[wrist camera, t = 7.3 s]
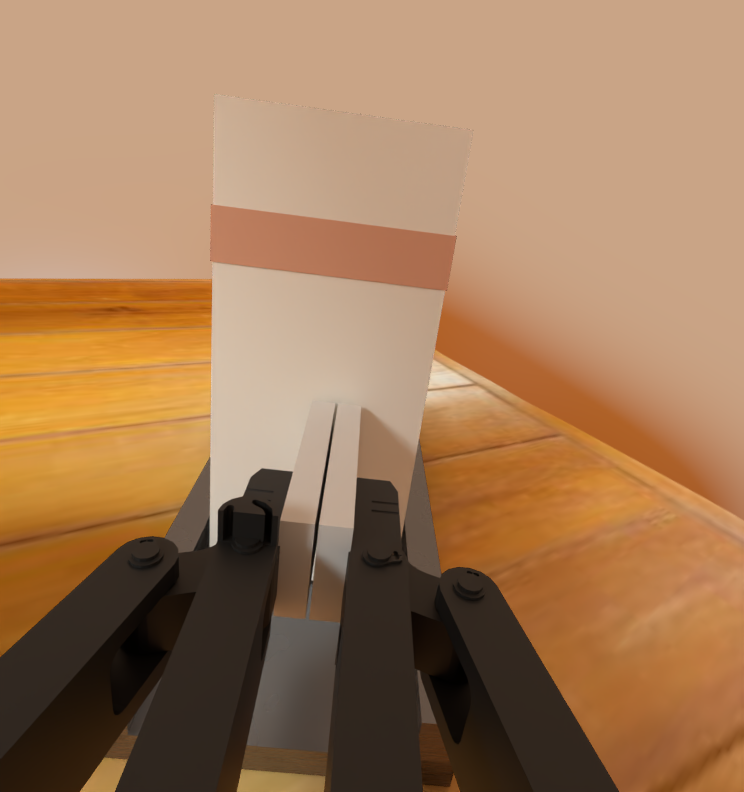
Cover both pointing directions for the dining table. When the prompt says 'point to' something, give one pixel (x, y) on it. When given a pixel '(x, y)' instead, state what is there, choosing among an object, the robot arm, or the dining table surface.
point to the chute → (307, 659)
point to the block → (325, 282)
